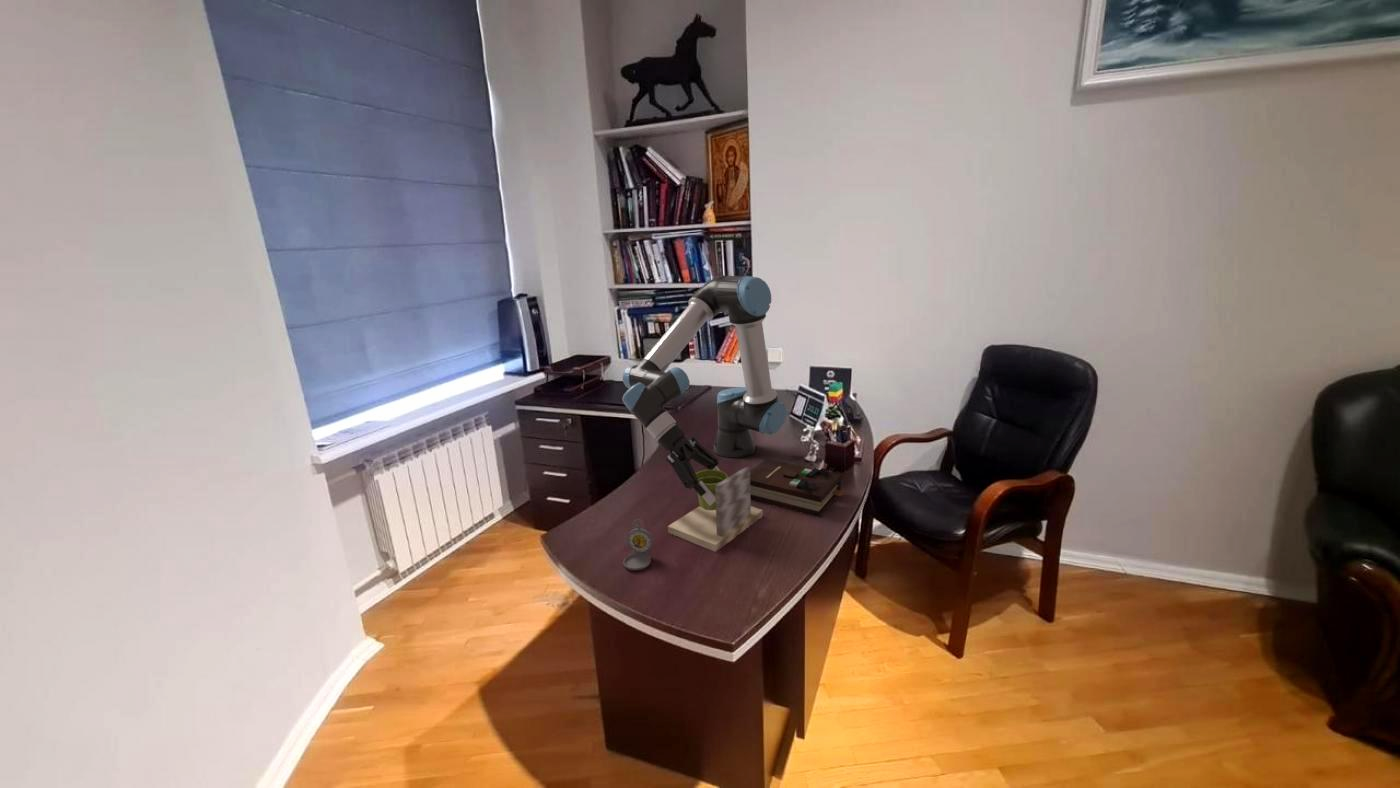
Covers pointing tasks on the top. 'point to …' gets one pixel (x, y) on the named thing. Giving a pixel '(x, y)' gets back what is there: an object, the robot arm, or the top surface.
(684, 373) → the robot arm
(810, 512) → the decorative book
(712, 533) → the shelf board
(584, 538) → the top surface
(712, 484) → the plant pot
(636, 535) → the pocket watch
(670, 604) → the top surface
